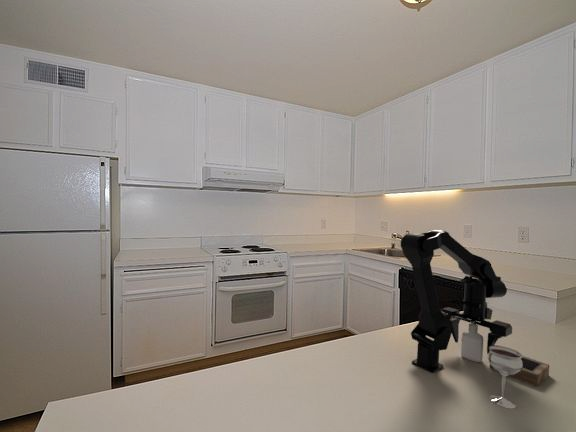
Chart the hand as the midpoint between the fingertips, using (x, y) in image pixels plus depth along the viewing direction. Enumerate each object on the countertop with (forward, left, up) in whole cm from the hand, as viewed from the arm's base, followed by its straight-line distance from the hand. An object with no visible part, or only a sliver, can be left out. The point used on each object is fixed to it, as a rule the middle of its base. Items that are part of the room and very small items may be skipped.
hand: (472, 347), depth 92 cm
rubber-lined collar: (+4, -11, -3) cm, 12 cm away
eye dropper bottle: (0, 0, -4) cm, 4 cm away
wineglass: (-18, -14, -4) cm, 23 cm away
